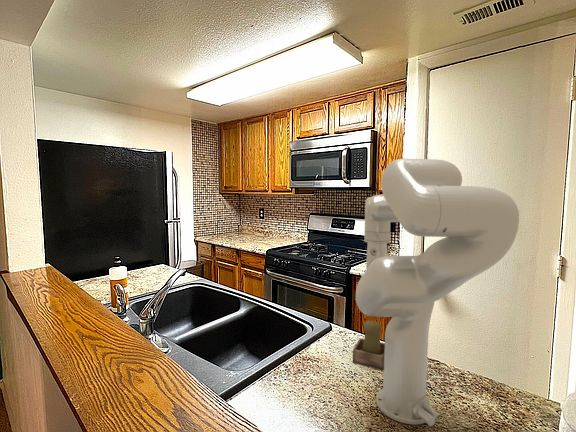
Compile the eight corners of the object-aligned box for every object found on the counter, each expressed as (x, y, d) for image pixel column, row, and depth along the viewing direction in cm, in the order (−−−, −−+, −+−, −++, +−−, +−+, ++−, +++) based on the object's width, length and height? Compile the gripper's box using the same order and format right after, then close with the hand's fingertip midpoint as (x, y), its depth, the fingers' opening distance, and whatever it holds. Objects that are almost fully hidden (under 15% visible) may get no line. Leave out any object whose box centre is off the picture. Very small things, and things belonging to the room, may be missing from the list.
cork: (382, 363, 92) (383, 326, 92) (361, 360, 93) (362, 324, 93) (380, 353, 98) (381, 319, 98) (361, 351, 99) (362, 317, 99)
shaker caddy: (388, 356, 98) (388, 344, 98) (384, 370, 90) (384, 357, 90) (359, 350, 102) (359, 338, 102) (352, 362, 94) (353, 349, 93)
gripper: (385, 240, 85) (383, 302, 85) (393, 235, 100) (392, 288, 101) (358, 238, 88) (356, 298, 89) (370, 234, 104) (368, 285, 104)
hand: (375, 292), depth 95 cm, fingers open, 9 cm apart
